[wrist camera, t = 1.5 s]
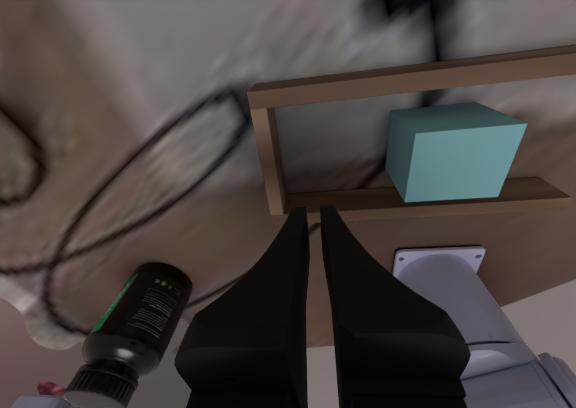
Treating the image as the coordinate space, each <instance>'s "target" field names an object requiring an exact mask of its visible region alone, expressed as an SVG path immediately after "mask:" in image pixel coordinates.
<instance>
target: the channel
mask: <svg viewBox="0 0 576 408" xmlns="http://www.w3.org/2000/svg"><path fill="white" fill-rule="evenodd" d="M572 74H576V45H570V46H562V47H554V48H546V49H537V50H529V51H521V52H513V53H505V54H497V55H488V56H480V57H472V58H464V59H456V60H448V61H439V62H431V63H423V64H415V65H407V66H399V67H391V68H382V69H374V70H366V71H358V72H350V73H342V74H333V75H325V76H317V77H309V78H301V79H293V80H284V81H276V82H268V83H260V84H255V85H254V86H253V87H252V88H251V89H250V90H249V91H248V92H247V96H248V101H249V106H250V111H251V116H252V121H253V127H254V132H255V137H256V142H257V147H258V152H259V157H260V163H261V168H262V173H263V178H264V183H265V188H266V194H267V199H268V204H269V209H270V214H271V219H272V224H273V225H284V223H285V221H286V219H287V217H288V215H289V213H290V211H291V209H292V208H293V207H306V211H307V222H308V223H321V220H320V206H325V205H334V206H335V207H336V209H337V211H338V213H339V215H340V217H341V219H342V220H343V221H360V220H379V219H397V218H416V217H434V216H453V215H472V214H490V213H509V212H527V211H546V210H565V208H566V207H567V205H568V203H569V202H570V200H571V198H572V197H570V196H569V195H567V194H565V193H564V192H562V191H560V190H559V189H557V188H556V187H554V186H552V185H551V184H549V183H548V182H546V181H544V180H543V179H541V178H539V177H532V178H517V179H505V181H504V183H503V186H502V188H501V191H500V193H499V196H498V197H487V198H470V199H453V200H436V201H419V202H404V201H403V199H402V197H401V195H400V194H399V192H398V190H397V188H396V187H385V188H371V189H356V190H341V191H327V192H312V193H297V194H286V191H285V184H284V177H283V170H282V163H281V156H280V149H279V142H278V135H277V128H276V121H275V114H274V108H273V107H282V106H291V105H300V104H309V103H318V102H327V101H336V100H345V99H354V98H363V97H372V96H381V95H390V94H399V93H409V92H418V91H427V90H436V89H445V88H454V87H463V86H472V85H481V84H490V83H499V82H508V81H517V80H526V79H535V78H545V77H554V76H563V75H572Z"/></svg>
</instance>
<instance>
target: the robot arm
mask: <svg viewBox="0 0 576 408" xmlns="http://www.w3.org/2000/svg"><path fill="white" fill-rule="evenodd" d="M320 220H321V236H322V252H323V262H324V267H325V273H326V279H327V285H328V290H329V296H330V302H331V309H332V321H333V333H334V346H335V358H336V370H337V384H338V397H339V408H576V376H575V374H574V373H573V372H572V371H571V369H570V368H569V367H568V365H567V364H566V363H565V362H564V361H563V360H561V359H559V358H556V357H552V356H551V355H550V354H548V353H542V354H540V355H538V357H539V358H540V360H541V361H540V360H539V359H538V358H537V356H536V355H535V354H534V353H533V352H532V350H531V349H530V348H529V347H528V346H527V345H526V343H525V342H524V341H523V339H522V338H521V336H520V335H519V333H518V332H517V331H516V329H515V328H514V326H513V325H512V323H511V322H510V321H509V319H508V318H507V316H506V315H505V314H504V312H503V311H502V309H501V308H500V306H499V305H498V304H497V302H496V301H495V299H494V298H493V297H492V295H491V294H490V292H489V291H488V289H487V288H486V287H485V285H484V284H483V282H482V281H481V279H480V278H479V277H478V275H477V274H476V273H477V271H478V268H479V266H480V264H481V261H482V259H483V257H484V254H485V249H484V248H483V247H481V246H475V247H450V248H425V249H401V250H398V251H397V252H396V254H395V260H394V267H393V273H392V274H391V273H390V272H388V271H387V270H386V269H385V268H384V267H383V266H381V265H380V264H379V263H378V262H377V261H376V260H375V259H374V258H373V257H372V256H371V255H370V254H369V253H368V252H367V251H366V250H365V249H364V248H363V246H362V245H361V244H360V243H359V242H358V241H357V239H356V238H355V237H354V236H353V234H352V233H351V232H350V230H349V229H348V228H347V226H346V225H345V223H344V222H343V220H342V219H341V217H340V215H339V213H338V211H337V209H336V207H335V206H334V205H325V206H320ZM401 257H402V258H401ZM309 263H310V248H309V232H308V222H307V211H306V207H293V208H292V209H291V211H290V213H289V215H288V217H287V219H286V221H285V223H284V225H283V227H282V228H281V230H280V232H279V233H278V235H277V236H276V238H275V239H274V241H273V242H272V244H271V245H270V247H269V248H268V249H267V251H266V252H265V253H264V254H263V256H262V257H261V258H260V259H259V260H258V262H257V263H256V264H255V265H254V266H253V267H252V268H251V269H250V270H249V271H248V272H247V273H246V274H245V275H244V276H243V277H242V278H241V279H240V280H239V281H238V282H237V283H236V284H235V285H233V286H232V287H231V288H230V289H229V290H228V291H226V292H225V293H224V294H223V295H222V296H220V297H219V298H218V299H216V300H215V301H213V302H212V303H211V304H209V305H208V306H206V307H205V308H204V309H202V310H201V311H199V312H198V313H196V314H195V316H194V318H193V320H192V321H191V323H190V325H189V327H188V329H187V331H186V333H185V335H184V338H183V340H182V343H181V345H180V348H179V350H178V353H177V355H176V358H175V367H176V369H177V371H178V373H179V374H180V376H181V377H182V378H183V379H184V380H185V382H186V383H187V385H188V386H189V387H190V389H191V390H192V391H191V394H190V397H189V401H188V404H187V407H186V408H308V402H307V356H306V299H307V287H308V275H309ZM11 408H97V407H72V405H71V404H70V403H69V402H68V401H66V400H65V399H63V398H60V397H57V396H51V395H22V396H20V397H19V398H18V400H17V401H16V402H15V403H14V404H13V406H12V407H11Z"/></svg>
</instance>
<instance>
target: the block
mask: <svg viewBox="0 0 576 408" xmlns="http://www.w3.org/2000/svg"><path fill="white" fill-rule="evenodd" d="M527 124H528V123H525V122H523V121H520V120H518V119H515V118H513V117H511V116H508V115H506V114H503V113H501V112H498V111H496V110H493V109H491V108H489V107H486V106H484V105H481V104H479V103H476V102H471V103H462V104H452V105H442V106H432V107H422V108H412V109H403V110H393V111H391V117H390V126H389V136H388V146H387V155H386V165H385V169H386V171H387V173H388V174H389V176H390V178H391V180H392V181H393V183H394V185H395V187H396V188H397V190H398V192H399V194H400V195H401V197H402V199H403V201H404V202H419V201H436V200H453V199H470V198H487V197H498V196H499V193H500V191H501V188H502V186H503V183H504V181H505V178H506V176H507V173H508V171H509V168H510V166H511V163H512V161H513V158H514V156H515V153H516V151H517V149H518V146H519V144H520V141H521V139H522V136H523V134H524V131H525V129H526V126H527Z"/></svg>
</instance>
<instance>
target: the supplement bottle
mask: <svg viewBox="0 0 576 408" xmlns="http://www.w3.org/2000/svg"><path fill="white" fill-rule="evenodd" d="M191 291H192V288H191V284H190V281H189V280H188V278H187V277H186V276H185V275H184V274H183V273H182V272H180V271H179V270H177V269H176V268H173V267H171V266H168V265H165V264H158V263H152V264H146V265H143V266H141V267H139V268H138V269H137V270H136V271H135V272H134V273H133V275H132V276H131V277H130V279H129V280H128V281H127V283H126V284H125V285H124V287H123V288H122V289H121V291H120V292H119V294H118V295H117V296H116V298H115V299H114V300H113V302H112V303H111V305H110V306H109V307H108V309H107V310H106V311H105V313H104V314H103V316H102V317H101V318H100V320H99V321H98V322H97V324H96V325H95V327H94V328H93V329H92V331H91V332H90V333H89V335H88V336H87V338H86V339H85V341H84V343H83V348H82V355H83V358H84V360H85V362H86V365H84V366H81V367H80V368H79V369H78V371H77V372H76V374H75V377H74V378H73V380H72V381H71V383H70V384H69V386H68V387H67V388H66V390H65V392H64V397H65V399H67V401H69V402H70V403H72V404H74V405H76V406H79V407H97V408H126V407H127V405H128V403H129V401H130V399H131V397H132V395H133V393H134V392H135V391H136V389H137V387H138V381H137V380H138V379H139V378H142V377H145V376H147V375H149V374H150V373H152V372H153V371H154V370H155V369H156V368H157V367H158V366H159V364H160V362H161V360H162V358H163V356H164V353H165V351H166V349H167V347H168V344H169V342H170V340H171V338H172V335H173V333H174V331H175V329H176V327H177V324H178V322H179V320H180V318H181V315H182V313H183V311H184V309H185V306H186V304H187V302H188V300H189V297H190V295H191Z"/></svg>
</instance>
